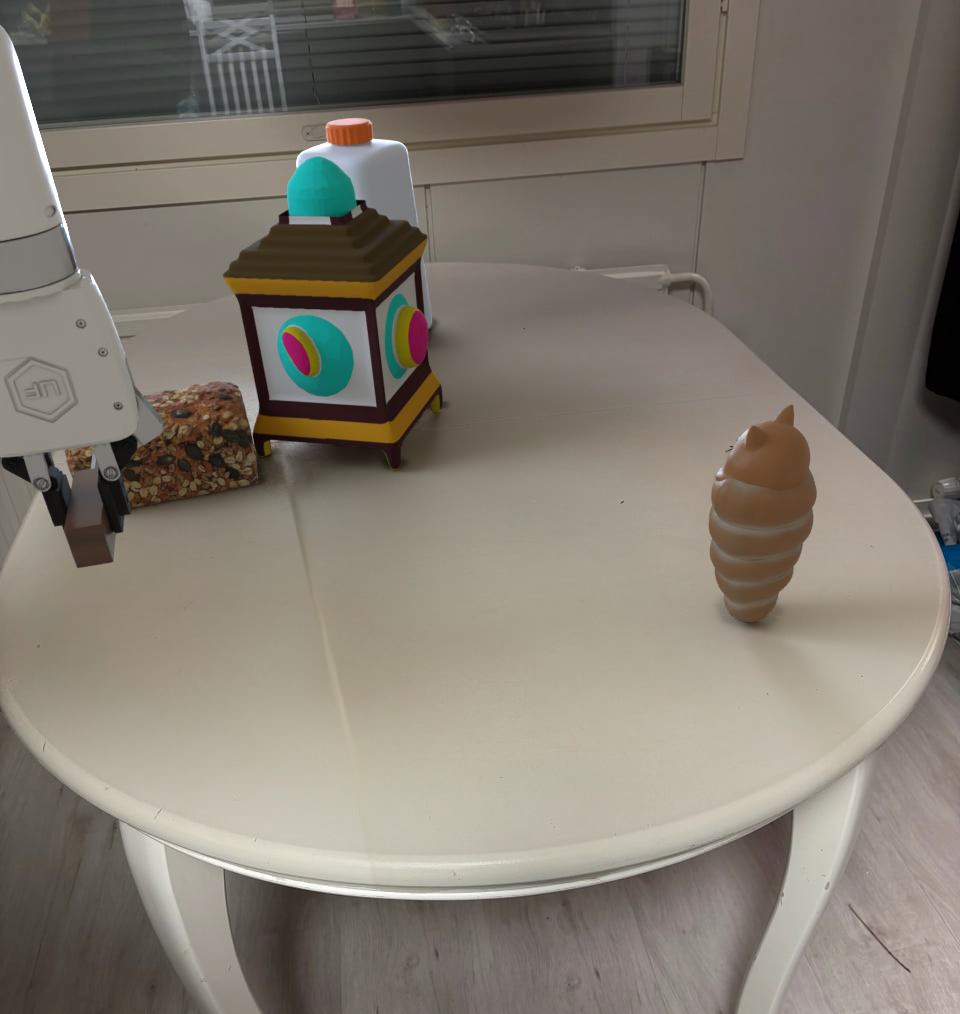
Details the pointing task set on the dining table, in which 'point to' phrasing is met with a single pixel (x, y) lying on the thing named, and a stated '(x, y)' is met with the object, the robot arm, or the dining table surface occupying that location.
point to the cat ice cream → (761, 515)
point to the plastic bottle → (373, 174)
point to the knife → (88, 521)
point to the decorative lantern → (335, 320)
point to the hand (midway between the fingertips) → (96, 525)
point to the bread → (188, 447)
